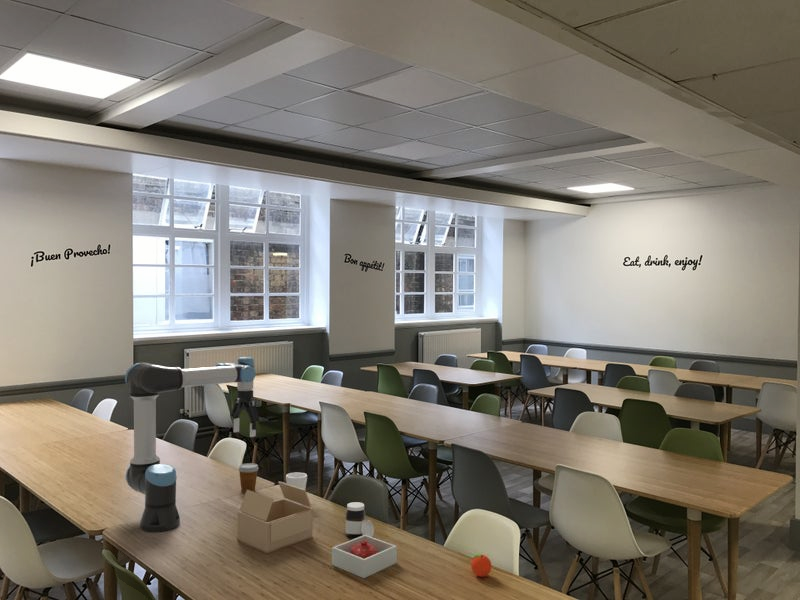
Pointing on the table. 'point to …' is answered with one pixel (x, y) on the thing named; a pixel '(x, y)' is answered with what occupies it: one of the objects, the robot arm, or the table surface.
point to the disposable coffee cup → (248, 476)
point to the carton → (276, 526)
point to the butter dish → (363, 550)
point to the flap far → (294, 493)
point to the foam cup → (297, 481)
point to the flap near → (256, 505)
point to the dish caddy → (368, 565)
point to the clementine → (481, 565)
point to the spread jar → (357, 521)
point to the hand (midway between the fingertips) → (244, 434)
